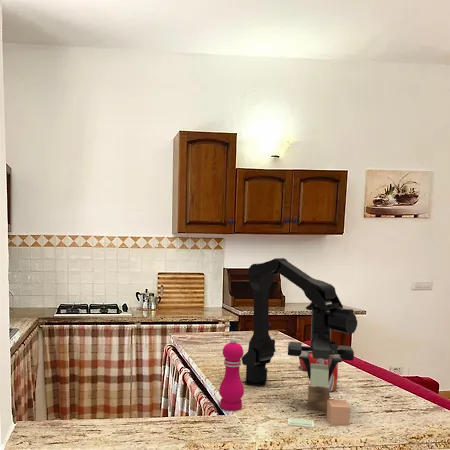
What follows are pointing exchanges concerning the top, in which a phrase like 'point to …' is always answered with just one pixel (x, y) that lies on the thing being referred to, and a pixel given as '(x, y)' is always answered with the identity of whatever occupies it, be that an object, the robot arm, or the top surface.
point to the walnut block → (318, 398)
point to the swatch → (300, 422)
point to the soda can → (333, 380)
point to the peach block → (338, 412)
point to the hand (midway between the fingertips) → (318, 379)
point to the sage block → (319, 375)
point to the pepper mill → (232, 377)
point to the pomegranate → (311, 359)
